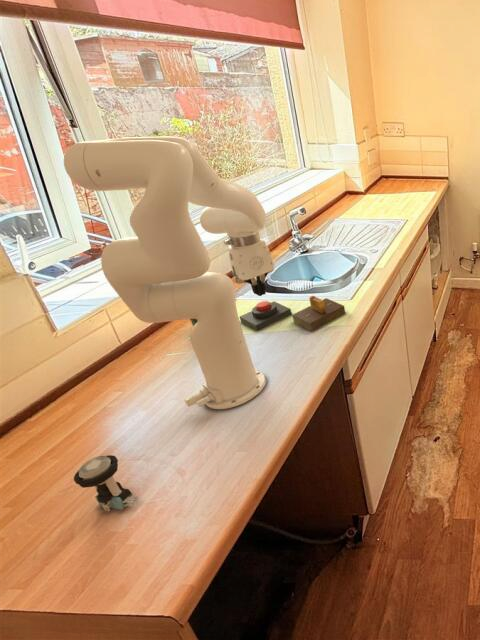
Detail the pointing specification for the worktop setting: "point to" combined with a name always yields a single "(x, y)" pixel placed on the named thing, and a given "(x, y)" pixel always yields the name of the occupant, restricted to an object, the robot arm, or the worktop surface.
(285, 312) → the doorbell
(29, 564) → the worktop surface
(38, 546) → the worktop surface
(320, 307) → the lock turn
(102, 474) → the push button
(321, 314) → the plate
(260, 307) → the bell button
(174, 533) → the worktop surface
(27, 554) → the worktop surface
